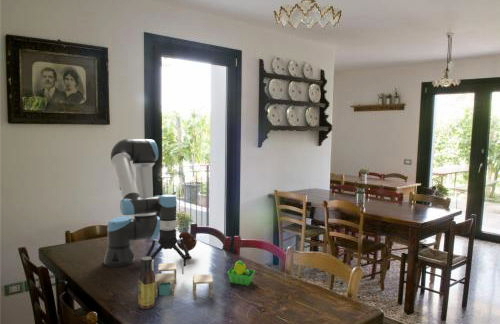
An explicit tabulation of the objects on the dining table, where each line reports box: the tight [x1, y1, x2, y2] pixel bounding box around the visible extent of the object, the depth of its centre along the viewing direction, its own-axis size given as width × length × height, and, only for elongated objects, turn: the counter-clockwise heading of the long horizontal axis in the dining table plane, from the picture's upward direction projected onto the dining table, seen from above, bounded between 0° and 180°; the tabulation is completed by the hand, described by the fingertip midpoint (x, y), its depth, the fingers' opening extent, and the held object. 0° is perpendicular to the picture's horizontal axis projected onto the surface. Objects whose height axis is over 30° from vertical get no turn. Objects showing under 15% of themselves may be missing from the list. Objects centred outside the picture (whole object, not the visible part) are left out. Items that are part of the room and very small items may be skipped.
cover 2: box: [154, 272, 176, 298], centre depth 164 cm, size 8×8×7 cm
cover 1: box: [157, 262, 177, 286], centre depth 176 cm, size 8×8×7 cm
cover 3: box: [192, 273, 214, 300], centre depth 163 cm, size 8×8×7 cm
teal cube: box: [158, 282, 171, 296], centre depth 164 cm, size 4×4×4 cm
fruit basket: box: [227, 260, 256, 286], centre depth 177 cm, size 11×9×11 cm
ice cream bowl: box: [176, 231, 198, 261], centre depth 208 cm, size 11×11×15 cm
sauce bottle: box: [137, 256, 156, 310], centre depth 150 cm, size 6×6×20 cm
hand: (167, 274), depth 176 cm, fingers open, 13 cm apart
